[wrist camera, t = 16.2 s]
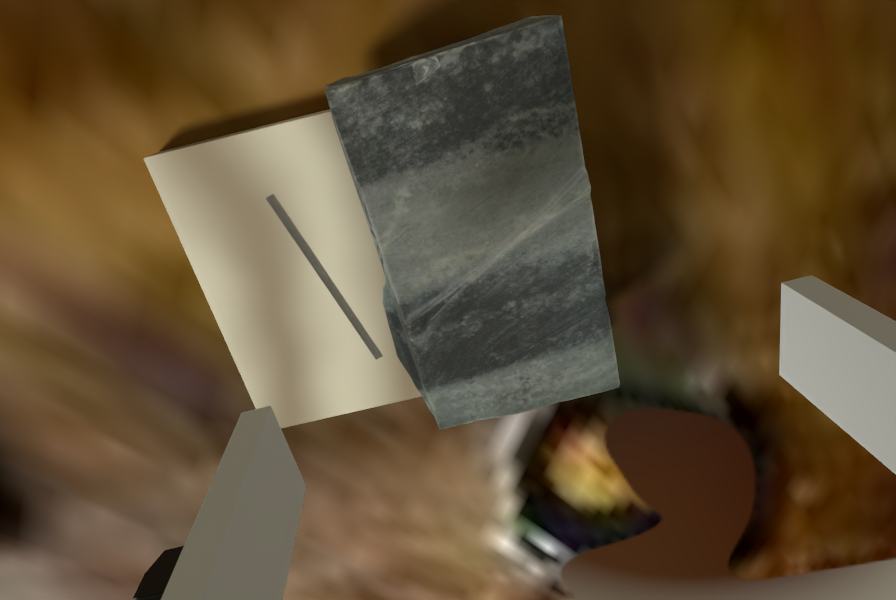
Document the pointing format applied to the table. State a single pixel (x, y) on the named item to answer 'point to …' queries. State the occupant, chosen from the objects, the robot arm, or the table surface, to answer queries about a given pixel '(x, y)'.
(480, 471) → the table surface
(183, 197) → the board
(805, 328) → the robot arm
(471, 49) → the stone block
